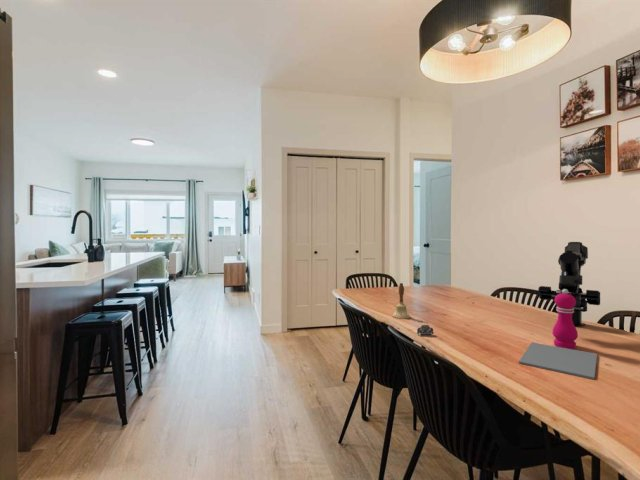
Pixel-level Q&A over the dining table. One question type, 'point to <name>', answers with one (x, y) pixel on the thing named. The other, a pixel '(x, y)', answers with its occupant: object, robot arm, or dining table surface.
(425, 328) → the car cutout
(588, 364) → the mat
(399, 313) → the hand bell
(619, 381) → the dining table surface
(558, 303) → the pepper mill
